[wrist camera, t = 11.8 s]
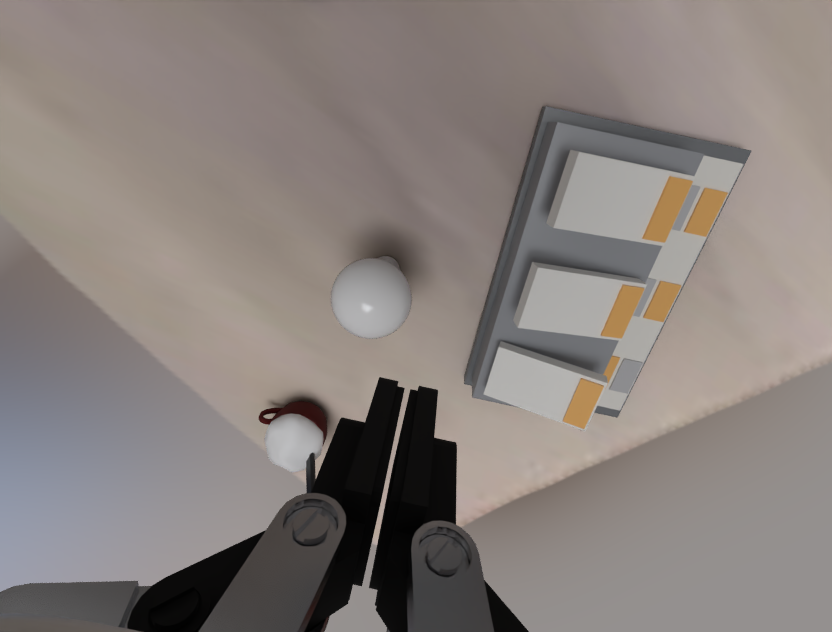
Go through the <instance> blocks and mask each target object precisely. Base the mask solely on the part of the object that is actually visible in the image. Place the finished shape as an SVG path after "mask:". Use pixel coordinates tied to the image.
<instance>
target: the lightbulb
mask: <svg viewBox="0 0 832 632" xmlns="http://www.w3.org/2000/svg"><path fill="white" fill-rule="evenodd" d="M411 304H412V294H411V288H410V285H409V283H408V280H407V279H406V277H405V275H404V274H403V273H402V272H401V271H400V267H399V264H398V263H397V261H396V260H395V259H393V258H392V257H389V256H381V257H379V258H365V259H360V260H357V261H355V262H353V263H351V264H349V265H348V266H346V267H345V268H344V269H343V270H342V271H341V272H340V273H339V275H338V276H337V278H336V279H335V281H334V284H333V287H332V290H331V307H332V310H333V313H334V315H335V317H336V319H337V321H338V322H339V324H340V325H341V326H342V327H343V328H344V329H345V330H347V331H348V332H350V333H351V334H353V335H355V336H358V337H361V338H366V339H377V338H382V337H385V336H388V335H390V334H392V333H393V332H395V331H396V330H397V329H398V328H400V326H401V325H402V324H403V323H404V322H405V320H406V319H407V317H408V315H409V312H410V309H411Z"/></svg>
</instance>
